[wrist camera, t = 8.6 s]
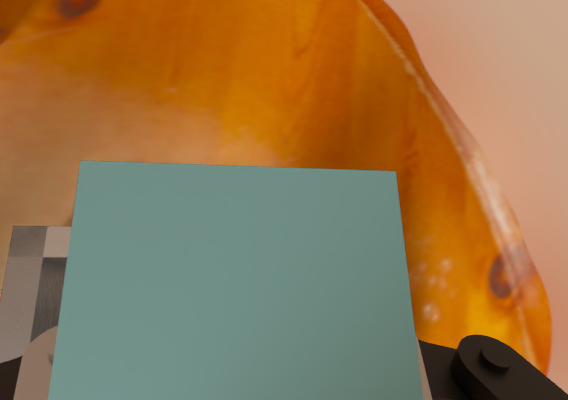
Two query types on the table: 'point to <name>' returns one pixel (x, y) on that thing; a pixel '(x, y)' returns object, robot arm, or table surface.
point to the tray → (32, 286)
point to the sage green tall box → (235, 286)
